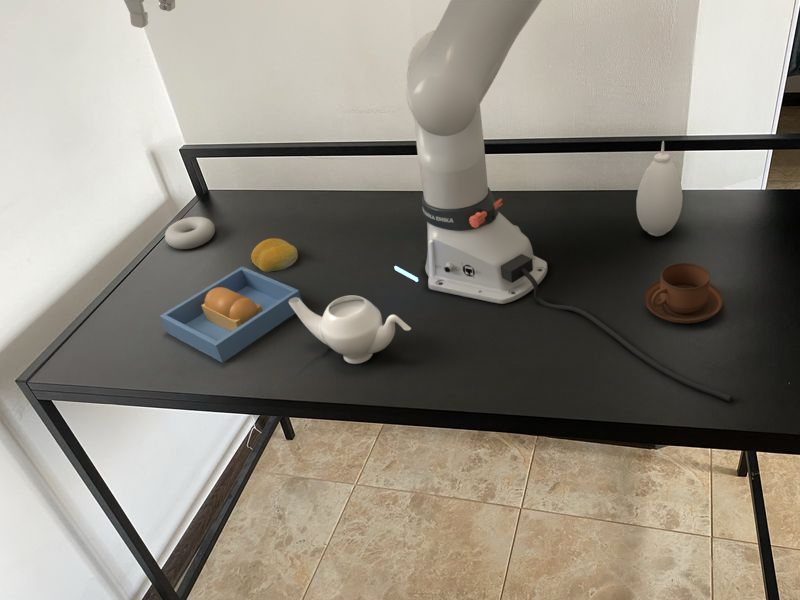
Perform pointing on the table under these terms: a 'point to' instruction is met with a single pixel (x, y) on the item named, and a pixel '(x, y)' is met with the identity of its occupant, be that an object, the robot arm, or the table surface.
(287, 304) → the tray
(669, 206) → the white air blower bulb
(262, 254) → the bread roll
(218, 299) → the loaf
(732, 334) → the table surface
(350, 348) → the teapot
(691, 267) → the cup and saucer
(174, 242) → the donut
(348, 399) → the table surface
